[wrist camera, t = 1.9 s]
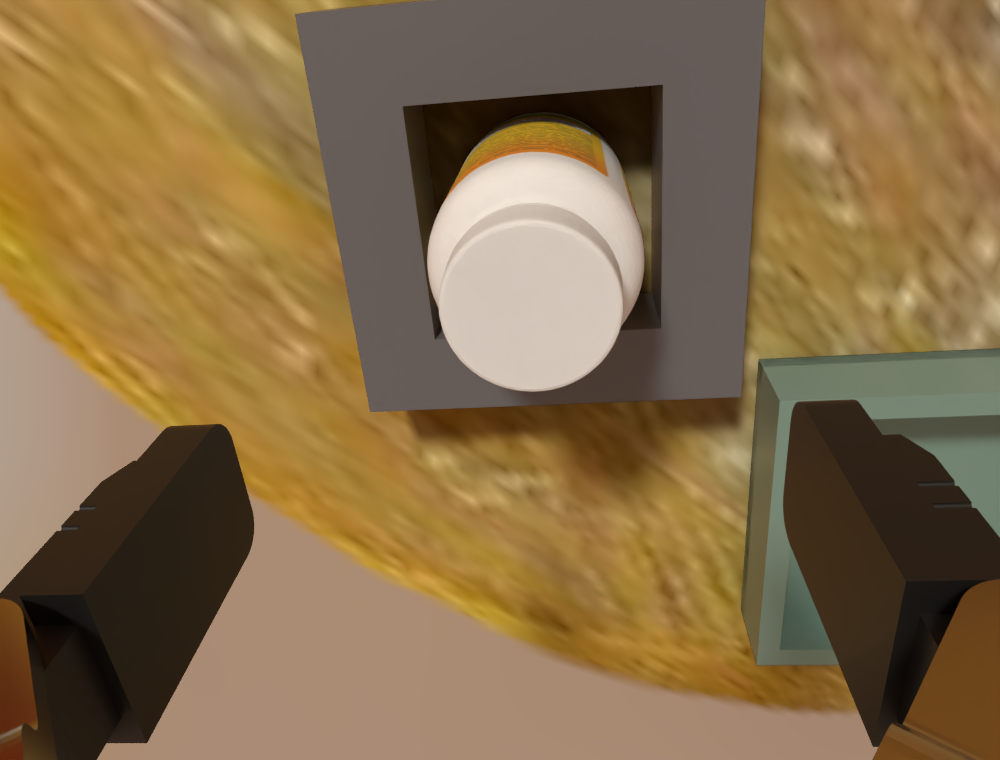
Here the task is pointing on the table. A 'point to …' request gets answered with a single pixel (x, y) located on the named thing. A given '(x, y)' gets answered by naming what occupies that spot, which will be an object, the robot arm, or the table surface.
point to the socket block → (525, 72)
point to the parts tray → (894, 410)
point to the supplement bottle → (536, 254)
